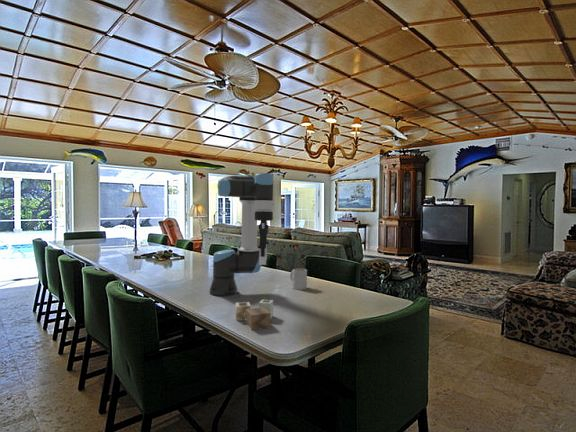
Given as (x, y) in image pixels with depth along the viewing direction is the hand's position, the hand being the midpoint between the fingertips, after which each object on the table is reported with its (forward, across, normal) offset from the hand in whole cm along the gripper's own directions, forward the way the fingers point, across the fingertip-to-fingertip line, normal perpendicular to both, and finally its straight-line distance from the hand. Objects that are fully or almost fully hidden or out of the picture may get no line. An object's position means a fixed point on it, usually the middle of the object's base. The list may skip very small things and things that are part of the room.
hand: (263, 262), depth 142 cm
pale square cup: (+25, +7, -1) cm, 26 cm away
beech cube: (+25, +6, +9) cm, 27 cm away
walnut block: (+26, -3, +2) cm, 26 cm away
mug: (+25, +61, -19) cm, 69 cm away
